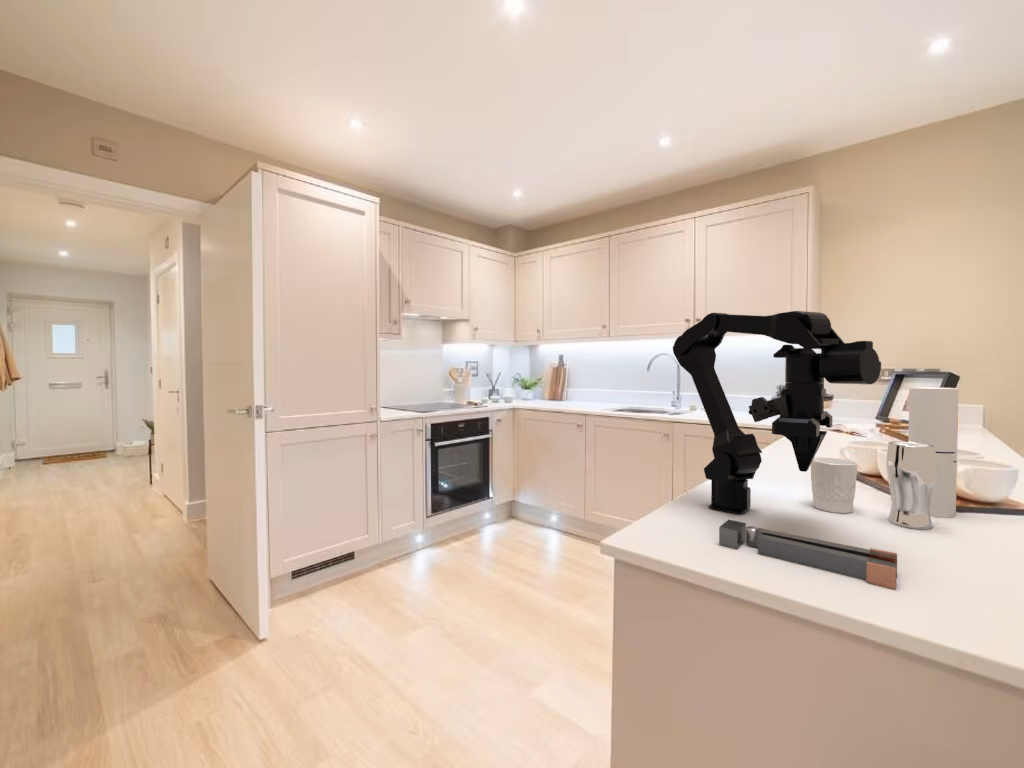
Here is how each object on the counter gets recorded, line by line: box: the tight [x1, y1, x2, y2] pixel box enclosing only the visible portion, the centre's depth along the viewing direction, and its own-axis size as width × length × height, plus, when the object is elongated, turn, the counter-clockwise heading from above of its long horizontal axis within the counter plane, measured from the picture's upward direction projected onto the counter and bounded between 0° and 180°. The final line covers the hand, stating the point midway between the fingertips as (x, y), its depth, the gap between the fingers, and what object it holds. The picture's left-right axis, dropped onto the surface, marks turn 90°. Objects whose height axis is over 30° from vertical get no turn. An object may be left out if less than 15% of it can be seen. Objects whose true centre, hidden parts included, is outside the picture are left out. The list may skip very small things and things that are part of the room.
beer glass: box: [885, 440, 937, 531], centre depth 82 cm, size 7×7×15 cm
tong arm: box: [745, 525, 898, 579], centre depth 68 cm, size 19×3×3 cm, turn 50°
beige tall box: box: [907, 386, 959, 519], centre depth 89 cm, size 7×7×25 cm
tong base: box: [718, 519, 898, 590], centre depth 68 cm, size 22×5×3 cm, turn 47°
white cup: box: [810, 456, 858, 514], centre depth 92 cm, size 8×8×10 cm
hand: (803, 471), depth 78 cm, fingers closed
